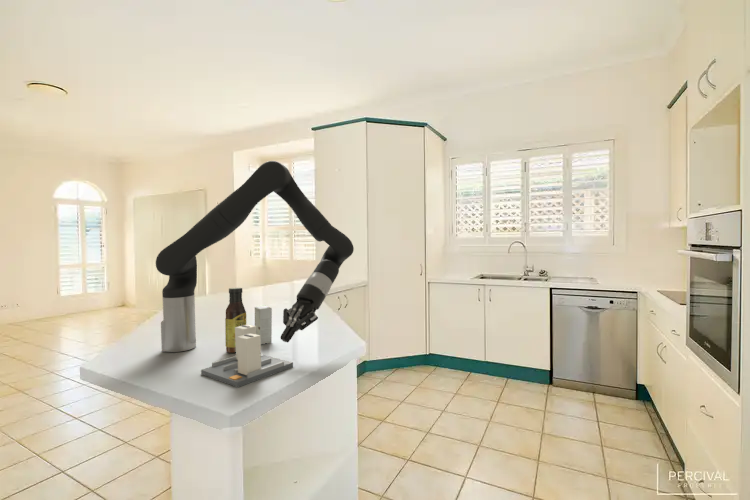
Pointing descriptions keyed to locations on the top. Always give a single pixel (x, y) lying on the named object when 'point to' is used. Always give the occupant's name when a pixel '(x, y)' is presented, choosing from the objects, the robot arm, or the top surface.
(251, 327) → the tab
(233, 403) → the top surface
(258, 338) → the tab
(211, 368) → the switch board
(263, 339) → the skincare box
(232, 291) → the sauce bottle
